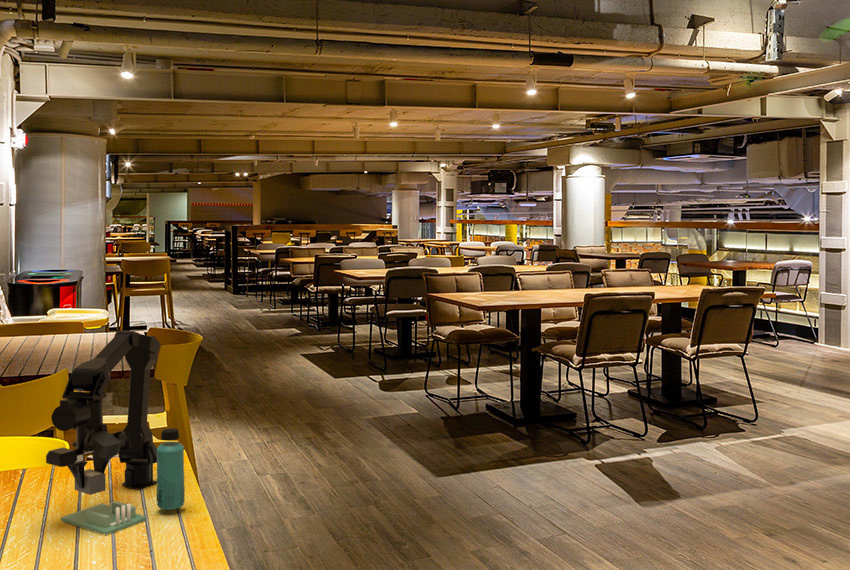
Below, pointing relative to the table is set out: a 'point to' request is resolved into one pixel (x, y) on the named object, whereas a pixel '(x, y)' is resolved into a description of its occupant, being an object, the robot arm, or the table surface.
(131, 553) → the table surface
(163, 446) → the beverage bottle
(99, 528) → the board
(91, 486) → the plug
